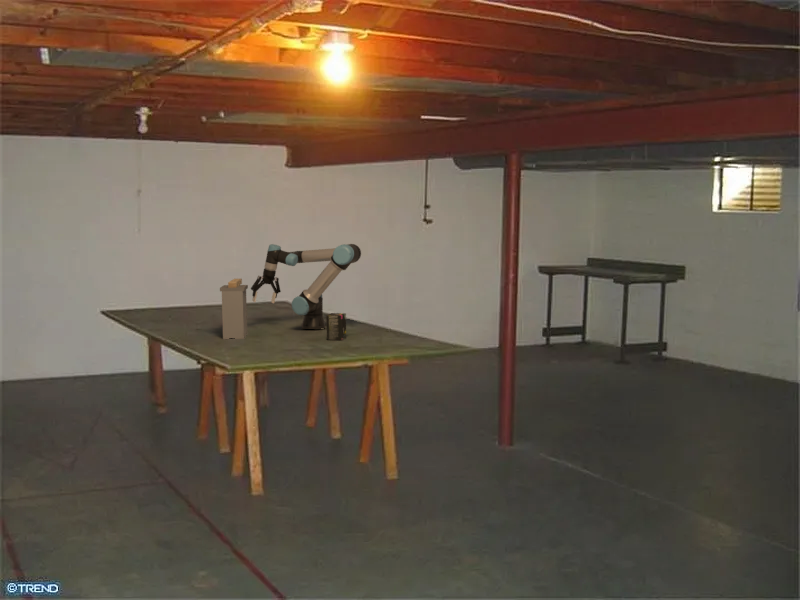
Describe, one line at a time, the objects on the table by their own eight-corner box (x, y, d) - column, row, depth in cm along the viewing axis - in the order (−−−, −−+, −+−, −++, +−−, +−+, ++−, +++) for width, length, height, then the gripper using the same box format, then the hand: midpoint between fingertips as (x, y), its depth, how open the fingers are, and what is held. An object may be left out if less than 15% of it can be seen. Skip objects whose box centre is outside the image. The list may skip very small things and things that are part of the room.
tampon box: (341, 340, 512) (341, 315, 511) (326, 340, 514) (325, 314, 513) (346, 337, 523) (346, 312, 522) (331, 337, 525) (331, 312, 523)
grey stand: (225, 334, 539) (224, 285, 536) (248, 334, 540) (247, 284, 536) (221, 339, 521) (219, 287, 518) (245, 338, 522) (244, 287, 519)
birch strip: (234, 283, 547) (234, 278, 547) (241, 283, 547) (241, 278, 547) (228, 287, 519) (228, 282, 519) (236, 287, 519) (236, 282, 519)
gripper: (284, 269, 564) (277, 301, 568) (249, 266, 548) (242, 299, 552) (290, 272, 559) (283, 304, 563) (255, 269, 543) (248, 302, 547)
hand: (263, 302), depth 558 cm, fingers open, 13 cm apart
